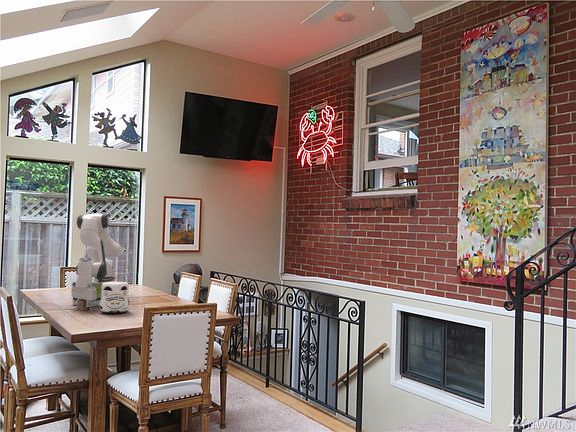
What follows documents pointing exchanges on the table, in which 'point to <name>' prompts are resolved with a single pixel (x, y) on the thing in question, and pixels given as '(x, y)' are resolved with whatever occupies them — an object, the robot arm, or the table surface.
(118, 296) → the milk container
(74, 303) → the tea box
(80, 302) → the walnut block
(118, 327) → the table surface
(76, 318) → the table surface
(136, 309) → the table surface
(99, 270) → the robot arm
